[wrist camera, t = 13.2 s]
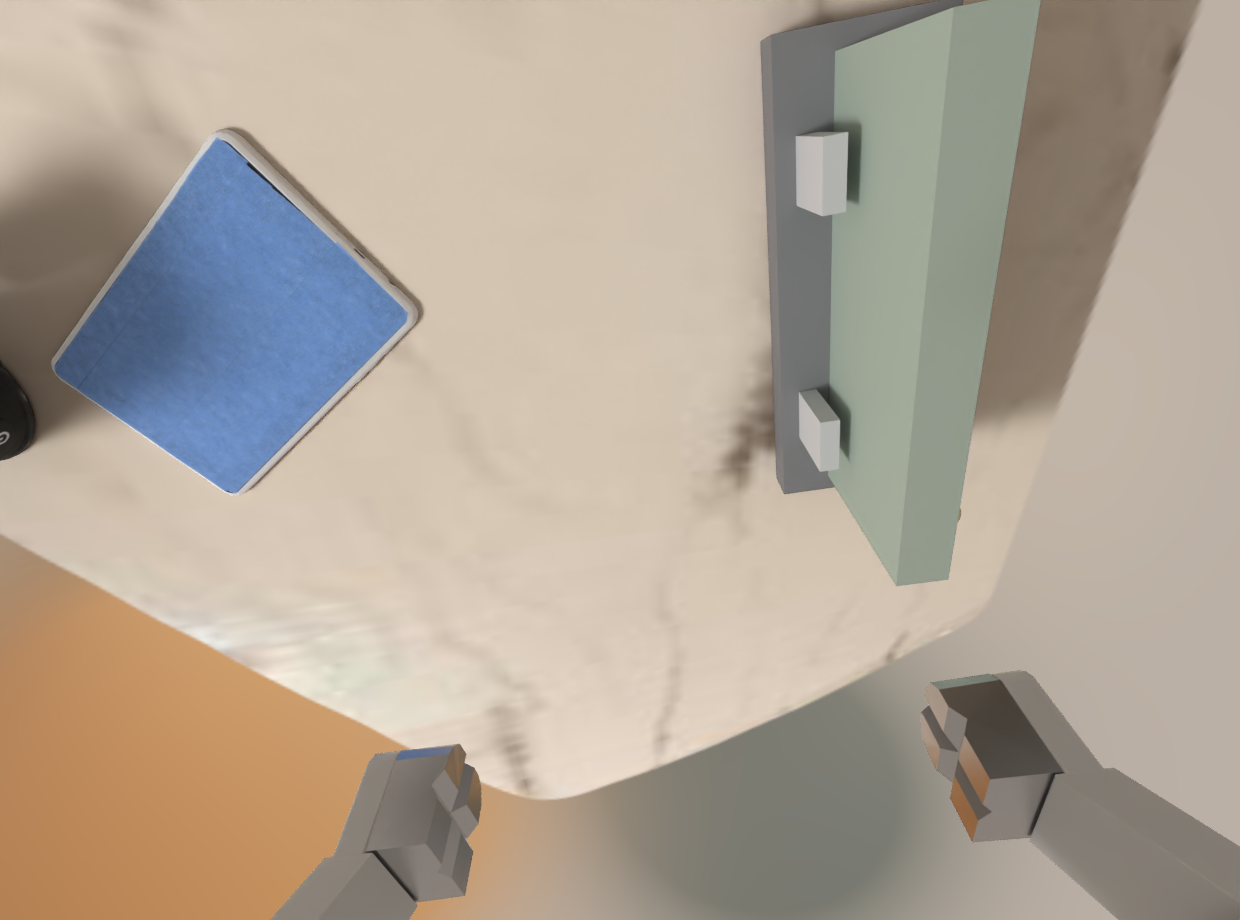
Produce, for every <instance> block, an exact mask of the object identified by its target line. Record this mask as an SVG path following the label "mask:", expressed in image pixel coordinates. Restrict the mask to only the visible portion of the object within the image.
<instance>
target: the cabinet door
mask: <svg viewBox="0 0 1240 920" xmlns="http://www.w3.org/2000/svg"><path fill="white" fill-rule="evenodd" d="M1040 3H1041V0H987V1H982V2H977V3H972V4H967V5H962V6H957V7H953V8H950V9H948V10H945V11H942V12H940V13H937V14H934V15H931V16H929V17H926V18H923V19H921V20H918V21H915V22H913V23H910V24H907V25H904V26H902V27H899V28H896V29H894V30H891V31H888V32H886V33H883V34H880V35H877V36H875V37H872V38H869V39H867V40H864V41H861V42H859V43H856V44H853V45H851V46H848V47H845V48H842V49H840V50H837V51H835V89H834V132H848V161H847V196H846V212H843V213H838V214H832V266H831V325H830V384H829V406H830V407H831V409H832V410H833V411H834V413H835V414H836V415H837V416H838V418H839V419H840V445H839V469H836V470H829V471H828V476H829V478H830V480H831V481H832V483H833V484H834V486H835V488H836V489H837V491H838V493H839V494H840V496H841V497H842V499H843V501H844V502H845V504H846V506H847V507H848V509H849V510H850V512H851V514H852V515H853V517H854V519H855V520H856V522H857V523H858V525H859V527H860V528H861V530H862V532H863V533H864V535H865V536H866V538H867V540H868V541H869V543H870V545H871V546H872V548H873V549H874V551H875V553H876V554H877V556H878V558H879V559H880V561H881V562H882V564H883V566H884V567H885V569H886V570H887V572H888V574H889V575H890V577H891V579H892V580H893V582H894V583H895V585H896V586H901V585H909V584H917V583H925V582H933V581H940V580H948V578H949V572H950V566H951V560H952V553H953V547H954V541H955V535H956V528H957V523H958V521H959V520H960V517H961V509H960V503H961V497H962V491H963V485H964V478H965V472H966V466H967V460H968V453H969V447H970V441H971V435H972V428H973V422H974V416H975V409H976V403H977V397H978V391H979V384H980V378H981V372H982V366H983V359H984V353H985V347H986V341H987V334H988V328H989V322H990V316H991V309H992V303H993V297H994V291H995V284H996V278H997V272H998V266H999V259H1000V253H1001V247H1002V241H1003V234H1004V228H1005V222H1006V215H1007V209H1008V203H1009V197H1010V190H1011V184H1012V178H1013V172H1014V165H1015V159H1016V153H1017V147H1018V140H1019V134H1020V128H1021V122H1022V115H1023V109H1024V103H1025V97H1026V90H1027V84H1028V78H1029V72H1030V65H1031V59H1032V53H1033V47H1034V40H1035V34H1036V28H1037V22H1038V15H1039V9H1040Z"/></svg>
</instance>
